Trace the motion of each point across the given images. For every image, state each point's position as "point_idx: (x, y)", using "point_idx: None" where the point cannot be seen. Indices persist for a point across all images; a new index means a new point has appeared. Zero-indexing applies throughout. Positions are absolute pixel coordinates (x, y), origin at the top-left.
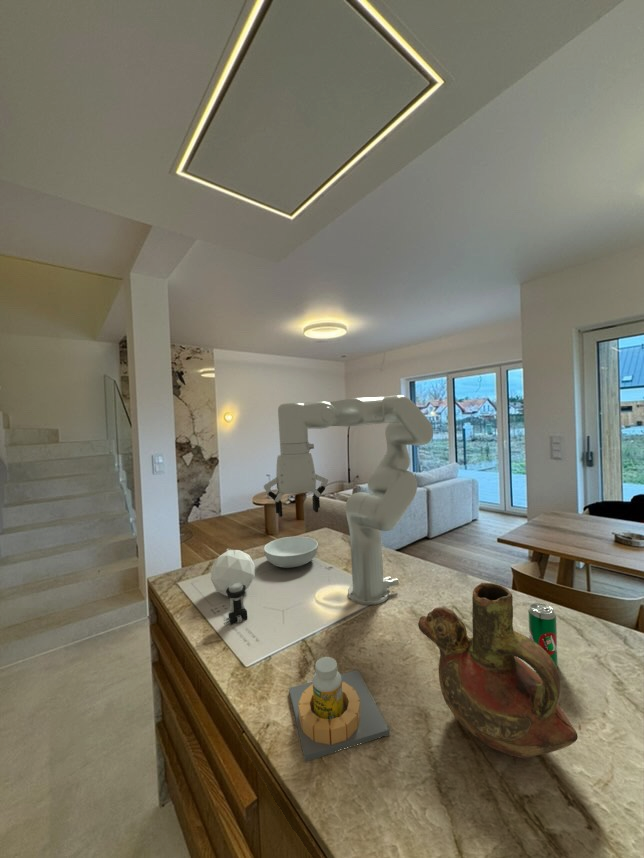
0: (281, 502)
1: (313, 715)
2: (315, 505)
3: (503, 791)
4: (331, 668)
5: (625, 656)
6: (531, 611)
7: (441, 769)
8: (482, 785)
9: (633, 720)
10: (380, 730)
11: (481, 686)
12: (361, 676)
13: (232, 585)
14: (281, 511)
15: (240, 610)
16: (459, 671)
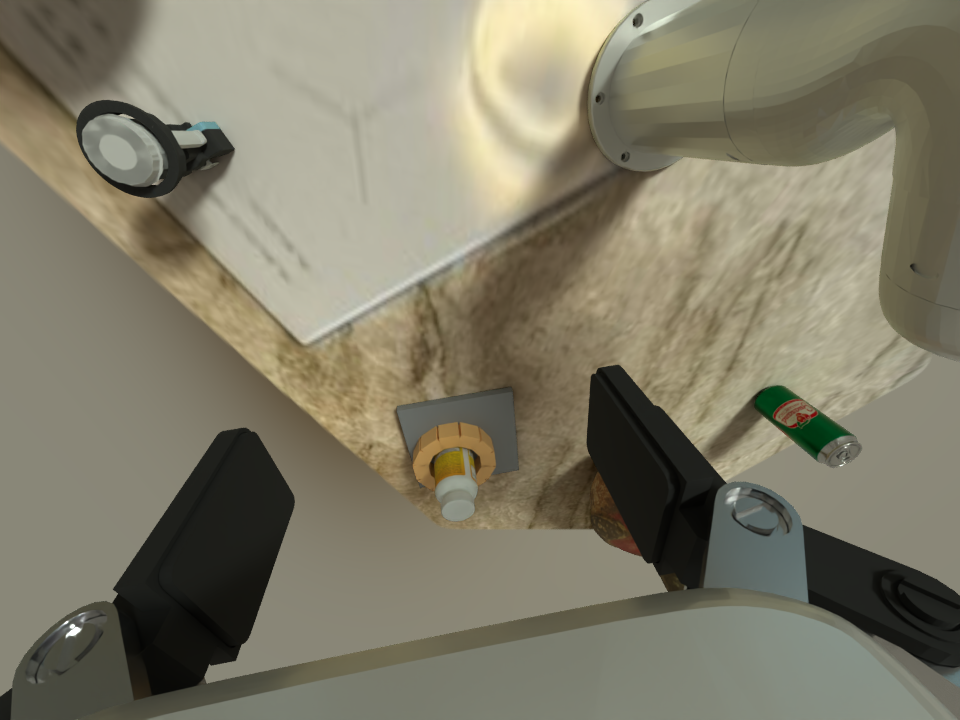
0: (243, 643)
1: (432, 479)
2: (612, 497)
3: (586, 504)
4: (465, 517)
5: (864, 398)
6: (826, 451)
7: (549, 491)
8: (574, 501)
9: (751, 465)
10: (508, 470)
11: (626, 550)
12: (513, 403)
13: (100, 149)
14: (275, 545)
15: (199, 166)
16: (620, 539)
